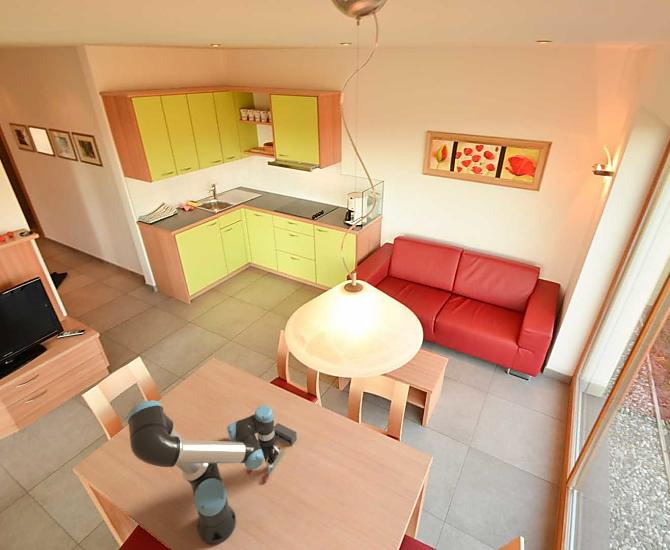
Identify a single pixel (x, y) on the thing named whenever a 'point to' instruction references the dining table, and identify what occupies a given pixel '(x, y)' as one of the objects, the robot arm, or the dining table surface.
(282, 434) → the grey rectangular block
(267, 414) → the robot arm
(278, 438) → the base
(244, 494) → the dining table surface
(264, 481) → the red-tipped stick
